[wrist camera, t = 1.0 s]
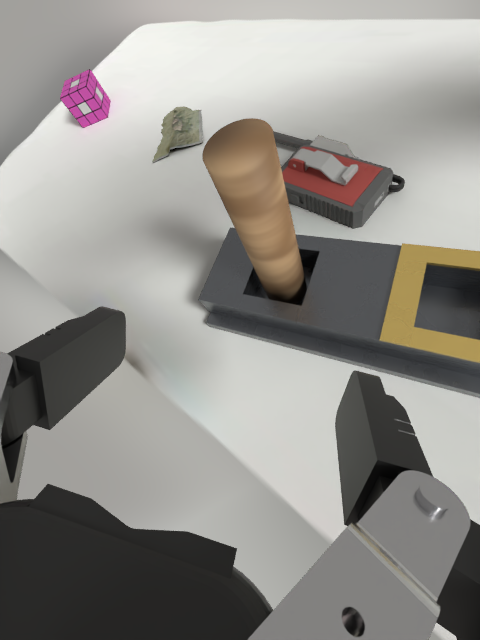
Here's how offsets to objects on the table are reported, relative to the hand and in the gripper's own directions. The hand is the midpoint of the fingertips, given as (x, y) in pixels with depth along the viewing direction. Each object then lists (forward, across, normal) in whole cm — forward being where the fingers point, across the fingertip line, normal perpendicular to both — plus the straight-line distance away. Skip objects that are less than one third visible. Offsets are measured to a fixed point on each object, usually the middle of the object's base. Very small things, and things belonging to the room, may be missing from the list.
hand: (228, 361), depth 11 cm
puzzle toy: (+55, +43, -12) cm, 70 cm away
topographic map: (+46, +24, -9) cm, 53 cm away
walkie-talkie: (+33, -1, -6) cm, 33 cm away
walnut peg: (+20, -1, +4) cm, 21 cm away
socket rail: (+20, -8, +4) cm, 21 cm away
